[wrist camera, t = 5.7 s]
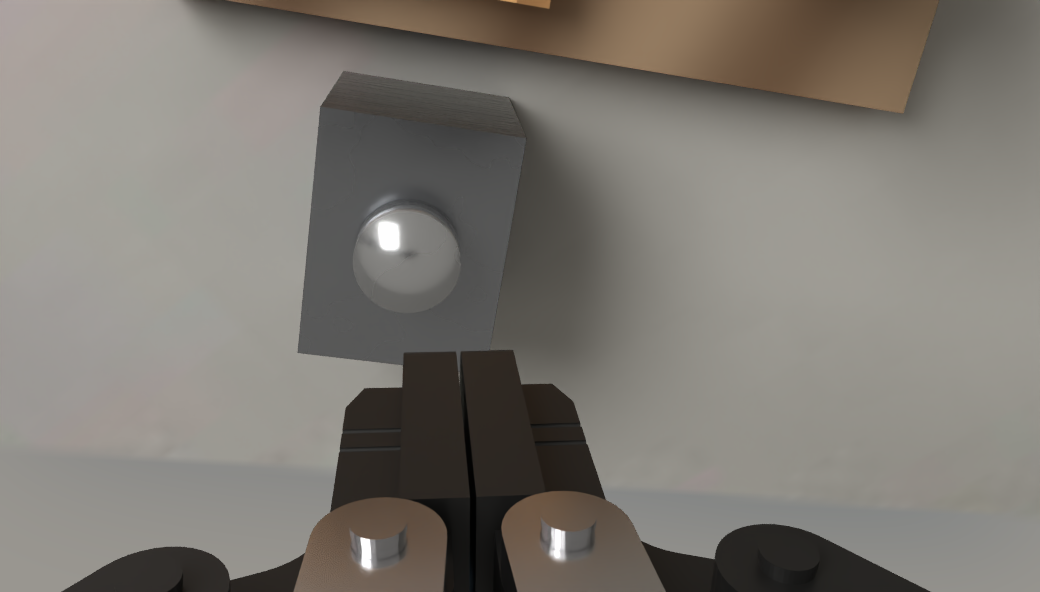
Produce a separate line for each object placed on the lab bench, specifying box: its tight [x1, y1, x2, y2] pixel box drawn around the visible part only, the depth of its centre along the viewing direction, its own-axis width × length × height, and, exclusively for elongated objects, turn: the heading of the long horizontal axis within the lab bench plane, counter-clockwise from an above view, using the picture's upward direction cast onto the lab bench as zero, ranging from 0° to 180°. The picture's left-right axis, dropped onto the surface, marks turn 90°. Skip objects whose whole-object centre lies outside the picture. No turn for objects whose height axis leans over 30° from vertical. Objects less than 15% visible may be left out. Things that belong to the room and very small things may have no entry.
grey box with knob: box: [298, 71, 527, 372], centre depth 23 cm, size 5×6×6 cm
